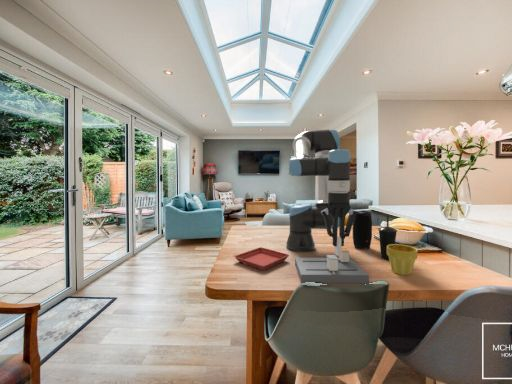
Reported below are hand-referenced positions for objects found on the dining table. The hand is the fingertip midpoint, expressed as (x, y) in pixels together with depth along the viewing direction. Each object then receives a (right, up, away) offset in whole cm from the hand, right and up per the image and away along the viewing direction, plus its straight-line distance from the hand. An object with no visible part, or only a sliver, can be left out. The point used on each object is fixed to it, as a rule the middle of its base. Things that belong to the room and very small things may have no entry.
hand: (338, 254), depth 88 cm
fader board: (-2, -9, +5) cm, 10 cm away
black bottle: (+30, -7, +20) cm, 37 cm away
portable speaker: (+26, -7, +37) cm, 46 cm away
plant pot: (+27, -8, +5) cm, 28 cm away
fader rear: (+5, -5, +8) cm, 11 cm away
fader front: (-2, -5, 0) cm, 6 cm away
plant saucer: (-28, -9, +18) cm, 35 cm away
